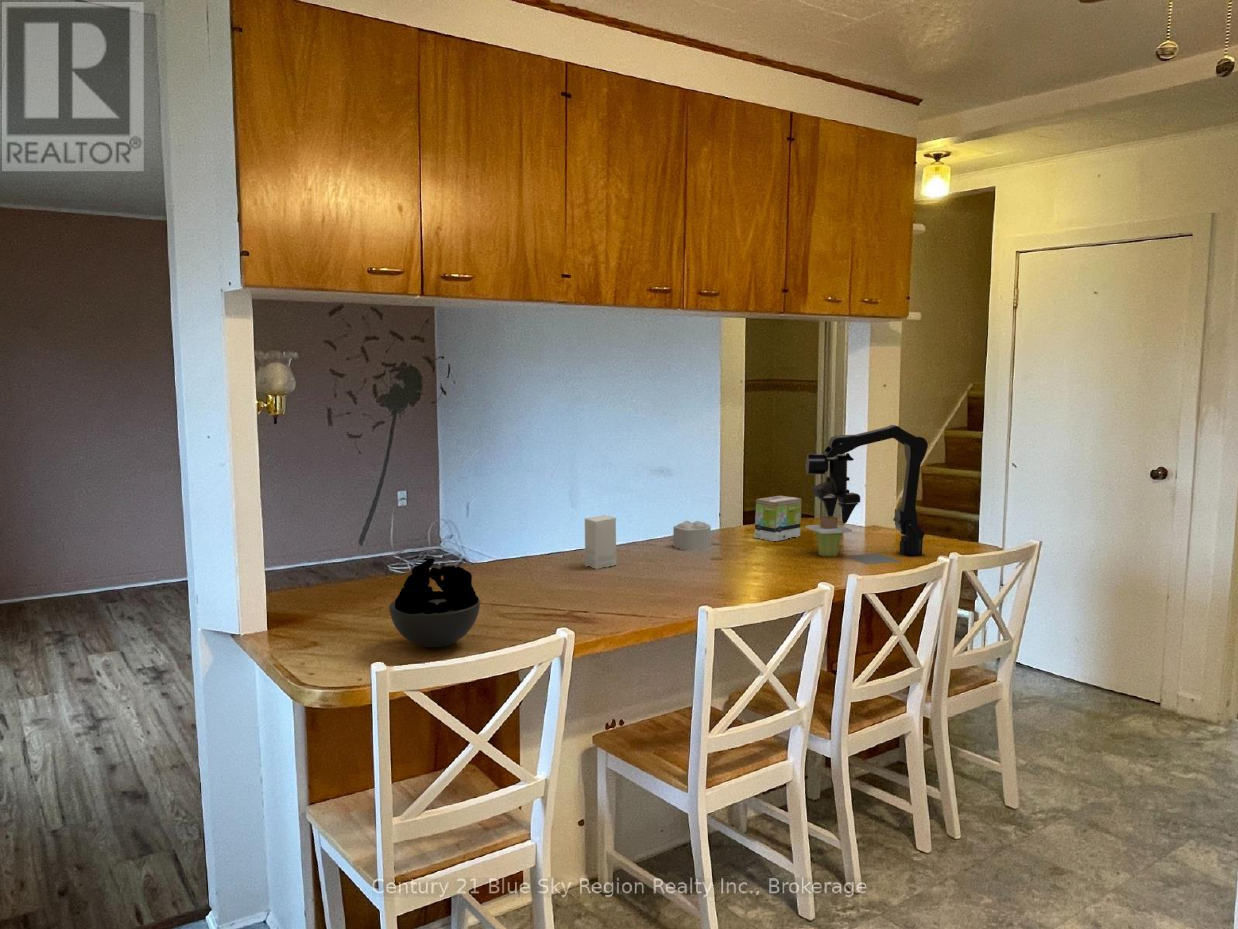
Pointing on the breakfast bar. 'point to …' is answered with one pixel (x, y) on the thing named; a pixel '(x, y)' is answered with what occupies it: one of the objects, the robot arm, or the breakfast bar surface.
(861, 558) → the mat
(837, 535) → the plant pot
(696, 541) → the lumpy-topped squat cylinder
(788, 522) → the tea box
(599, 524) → the skincare box
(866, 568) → the breakfast bar surface
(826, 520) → the lid
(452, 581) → the coal bowl
